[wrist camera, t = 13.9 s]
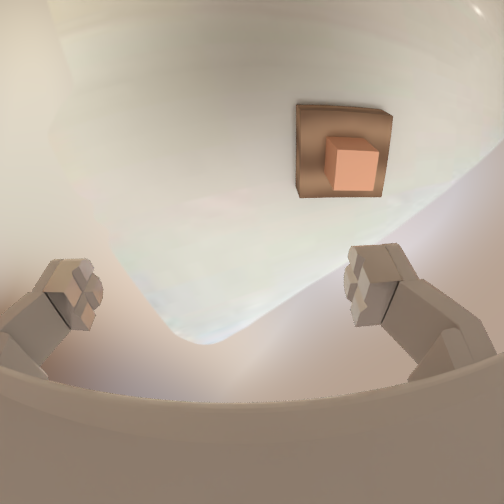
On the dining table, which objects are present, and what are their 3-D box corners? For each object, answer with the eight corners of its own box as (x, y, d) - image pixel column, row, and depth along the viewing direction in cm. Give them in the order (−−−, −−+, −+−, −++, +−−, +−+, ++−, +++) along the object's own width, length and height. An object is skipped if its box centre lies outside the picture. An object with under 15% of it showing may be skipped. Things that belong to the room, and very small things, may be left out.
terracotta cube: (326, 136, 32) (337, 149, 29) (364, 138, 32) (379, 151, 28) (324, 172, 36) (333, 190, 32) (359, 173, 35) (373, 190, 32)
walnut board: (295, 104, 34) (301, 110, 30) (380, 109, 33) (392, 116, 30) (295, 184, 41) (299, 198, 38) (371, 184, 41) (381, 197, 38)
